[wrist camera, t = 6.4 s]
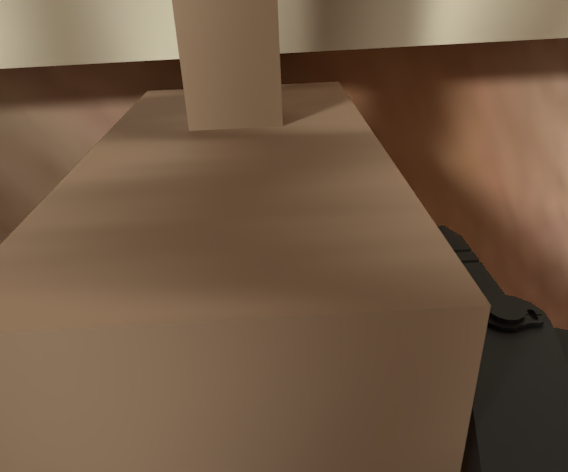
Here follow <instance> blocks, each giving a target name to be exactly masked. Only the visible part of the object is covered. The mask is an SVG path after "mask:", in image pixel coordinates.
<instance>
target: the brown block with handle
mask: <svg viewBox="0 0 568 472" xmlns="http://www.w3.org/2000/svg"><path fill="white" fill-rule="evenodd" d="M172 6H173V13H174V21H175V28H176V36H177V44H178V51H179V59H180V66H181V74H182V82H183V89H176V90H156V91H147V92H146V93H145V94H144V95H143V96H142V97H141V98H140V99H139V100H138V101H137V102H136V103H135V104H134V105H133V107H132V108H131V109H130V110H129V111H128V112H127V113H126V114H125V115H124V116H123V117H122V118H121V119H120V120H119V121H118V122H117V123H116V124H115V125H114V126H113V127H112V128H111V129H110V131H109V132H108V133H107V134H106V135H105V136H104V137H103V138H102V139H101V140H100V141H99V142H98V143H97V144H96V145H95V146H94V147H93V148H92V149H91V150H90V151H89V152H88V153H87V154H86V156H85V157H84V158H83V159H82V160H81V161H80V162H79V163H78V164H77V165H76V166H75V167H74V168H73V169H72V170H71V171H70V172H69V173H68V174H67V175H66V176H65V177H64V178H63V180H62V181H61V182H60V183H59V184H58V185H57V186H56V187H55V188H54V189H53V190H52V191H51V192H50V193H49V194H48V195H47V196H46V197H45V198H44V199H43V200H42V201H41V202H40V204H39V205H38V206H37V207H36V208H35V209H34V210H33V211H32V212H31V213H30V214H29V215H28V216H27V217H26V218H25V219H24V220H23V221H22V222H21V223H20V224H19V225H18V226H17V228H16V229H15V230H14V231H13V232H12V233H11V234H10V235H9V236H8V237H7V238H6V239H5V240H4V241H3V242H2V243H1V244H0V472H460V470H461V465H462V460H463V454H464V449H465V443H466V438H467V432H468V427H469V422H470V416H471V411H472V405H473V400H474V394H475V389H476V384H477V378H478V373H479V367H480V362H481V357H482V351H483V346H484V340H485V335H486V329H487V324H488V319H489V313H490V308H491V305H490V303H489V302H488V300H487V299H486V297H485V296H484V294H483V293H482V291H481V290H480V288H479V287H478V286H477V284H476V283H475V281H474V280H473V278H472V277H471V275H470V274H469V272H468V271H467V269H466V268H465V266H464V265H463V264H462V262H461V261H460V259H459V258H458V256H457V255H456V253H455V252H454V250H453V249H452V247H451V246H450V244H449V243H448V242H447V240H446V239H445V237H444V236H443V234H442V233H441V231H440V230H439V228H438V227H437V225H436V224H435V222H434V221H433V220H432V218H431V217H430V215H429V214H428V212H427V211H426V209H425V208H424V206H423V205H422V203H421V202H420V200H419V199H418V198H417V196H416V195H415V193H414V192H413V190H412V189H411V187H410V186H409V184H408V183H407V181H406V180H405V178H404V177H403V176H402V174H401V173H400V171H399V170H398V168H397V167H396V165H395V164H394V162H393V161H392V159H391V158H390V156H389V155H388V154H387V152H386V151H385V149H384V148H383V146H382V145H381V143H380V142H379V140H378V139H377V137H376V136H375V134H374V133H373V132H372V130H371V129H370V127H369V126H368V124H367V123H366V121H365V120H364V118H363V117H362V115H361V114H360V112H359V111H358V110H357V108H356V107H355V105H354V104H353V102H352V101H351V99H350V98H349V96H348V95H347V93H346V92H345V90H344V89H343V88H342V86H341V85H340V83H339V82H318V83H298V84H281V69H280V46H279V22H278V0H172Z"/></svg>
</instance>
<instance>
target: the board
mask: <svg viewBox="0 0 568 472" xmlns="http://www.w3.org/2000/svg"><path fill="white" fill-rule="evenodd" d="M278 22H279V46H280V54H281V53H299V52H317V51H336V50H354V49H372V48H391V47H409V46H427V45H446V44H464V43H482V42H500V41H519V40H537V39H555V38H568V0H278ZM171 59H179V51H178V44H177V36H176V28H175V21H174V13H173V6H172V0H0V69H6V68H25V67H43V66H61V65H79V64H98V63H116V62H134V61H153V60H171Z"/></svg>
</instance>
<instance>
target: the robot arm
mask: <svg viewBox="0 0 568 472" xmlns="http://www.w3.org/2000/svg"><path fill="white" fill-rule="evenodd" d="M437 227H438V228H439V230H440V231H441V233H442V234H443V236H444V237H445V239H446V240H447V242H448V243H449V244H450V246H451V247H452V249H453V250H454V252H455V253H456V255H457V256H458V258H459V259H460V261H461V262H462V264H463V265H464V266H465V268H466V269H467V271H468V272H469V274H470V275H471V277H472V278H473V280H474V281H475V283H476V284H477V286H478V287H479V288H480V290H481V291H482V293H483V294H484V296H485V297H486V299H487V300H488V302H489V303H490V305H491V308H490V313H489V319H488V324H487V329H486V335H485V340H484V346H483V351H482V357H481V362H480V367H479V373H478V378H477V384H476V389H475V394H474V400H473V405H472V411H471V416H470V422H469V427H468V432H467V438H466V443H465V449H464V454H463V460H462V465H461V470H460V472H568V330H563V329H558V328H553V326H552V323H551V321H550V320H549V319H548V317H547V316H546V314H545V313H544V312H543V311H542V310H540V309H539V308H537V307H536V306H534V305H533V304H532V303H529V302H527V301H524V300H522V299H519V298H517V297H513V296H507V295H505V294H504V293H503V291H502V290H501V289H500V287H499V286H498V285H497V283H496V282H495V281H494V279H493V278H492V277H491V275H490V274H489V273H488V271H487V270H486V269H485V267H484V266H483V265H482V263H479V259H478V258H477V256H476V255H475V254H474V252H471V248H470V247H469V246H468V244H467V243H466V242H465V240H464V239H463V238H462V236H460V235H458V234H457V233H455V232H453V231H452V230H450V229H448V228H447V227H445V226H437Z"/></svg>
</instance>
